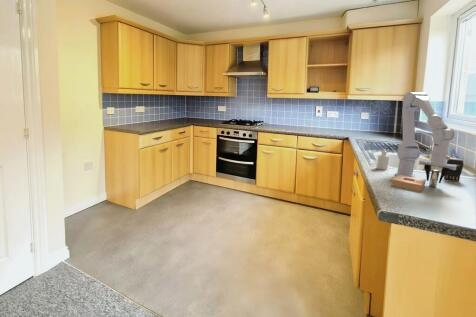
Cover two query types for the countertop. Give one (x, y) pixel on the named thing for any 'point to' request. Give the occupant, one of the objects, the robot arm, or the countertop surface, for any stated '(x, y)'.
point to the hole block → (408, 182)
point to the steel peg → (434, 178)
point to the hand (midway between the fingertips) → (433, 181)
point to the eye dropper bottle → (382, 161)
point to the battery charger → (456, 173)
